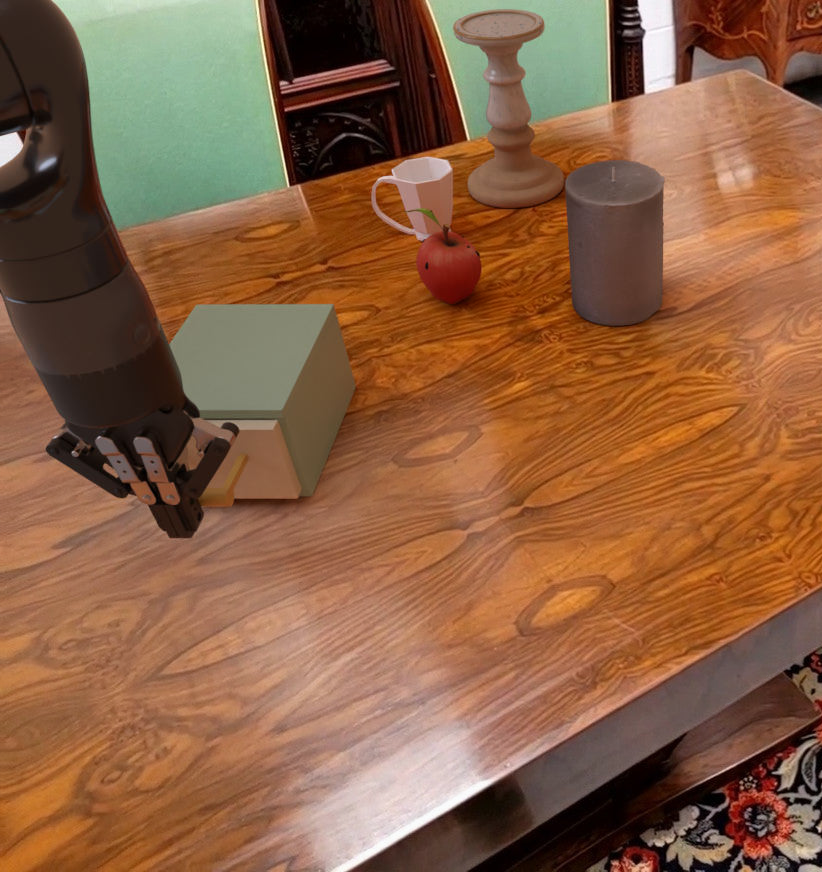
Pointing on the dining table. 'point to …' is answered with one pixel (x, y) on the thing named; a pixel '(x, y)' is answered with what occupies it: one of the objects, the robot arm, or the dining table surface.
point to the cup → (421, 194)
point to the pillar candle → (615, 241)
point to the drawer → (250, 466)
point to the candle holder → (508, 112)
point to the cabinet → (270, 373)
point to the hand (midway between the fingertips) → (185, 530)
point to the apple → (448, 264)
